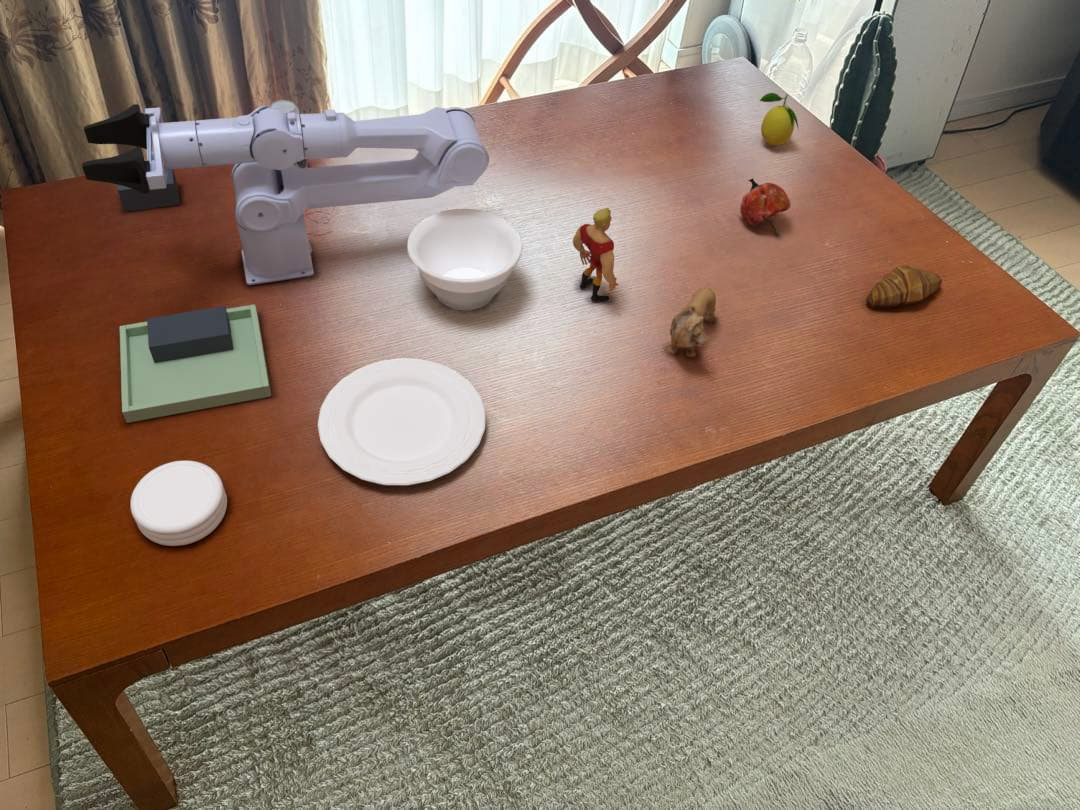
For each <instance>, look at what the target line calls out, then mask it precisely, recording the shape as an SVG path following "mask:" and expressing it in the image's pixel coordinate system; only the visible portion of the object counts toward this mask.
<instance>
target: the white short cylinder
mask: <svg viewBox="0 0 1080 810" xmlns="http://www.w3.org/2000/svg"><path fill="white" fill-rule="evenodd" d="M227 507H228V497H227V493H226V490H225V487H224V483H223V481H222V479H221V477H220V476H219V474H218V473H217V472H216V471H215V470H214V469H213V468H212V467H210V466H208V465H207V464H205V463H203V462H199V461H194V460H175V461H170V462H167V463H164V464H161V465H159V466H157V467H155V468H153V469H152V470H150V471H149V472H147V473H146V474H145V475H144V476H143V477H142V478H141V479H140V480H139V481H138V482H137V484H136V486H135V487H134V489H133V491H132V493H131V497H130V512H131V515H132V517H133V519H134V521H135V523H136V525H137V528H138V529H139V531H140V532H141V534H142V535H143V536H144V537H145V538H147V539H148V540H150V541H151V542H153V543H155V544H157V545H158V544H159V545H162V546H167V547H168V546H169V547H179V546H186V545H191V544H193V543H195V542H196V543H197V542H198V541H200V540H202V539H204V538H206V537H207V536H209V535H210V534H211V533H212V532H214V530H215V529H217V528H218V526H219V525H220V524H221V522H222V520H223V519H224V517H225V515H226V512H227Z"/></svg>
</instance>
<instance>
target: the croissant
mask: <svg viewBox="0 0 1080 810" xmlns="http://www.w3.org/2000/svg"><path fill="white" fill-rule="evenodd" d="M942 282H943V279H942V277H941V276H940V275H939V274H938V273H937V274H936V273H935V272H932V271H930V270H926V269H921V268H913V267H912V266H910V265H899V266H897V267H895V268H893V269H892V270H890V271H889V272H888V273H886V275H884V276H883V278H882V279H881V280H880V281H878V282H876V284H875V285H874V286H873V288H872V289H871V290H870V292H869V294H867V295H868V296H867V297H866V299H865V303H866V305H867V306H868V307H870V308H871V309H893V308H895V307H905V306H911V305H914V304H916V303H917V302H920V301H922V300H924V299H926V298H927V297H929V296H931V295H933V294H934V293H935V292H936V291H937V290H939V288H940V286H941V285H942Z"/></svg>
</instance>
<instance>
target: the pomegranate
mask: <svg viewBox="0 0 1080 810" xmlns="http://www.w3.org/2000/svg"><path fill="white" fill-rule="evenodd" d="M747 182H750V184H751V187H750V189H749V190H748V191H749V192H747V193H745V194H744V195H743V196H742V199H741V202H740V216H741V217H742V219H743V220H744V222H746V223H747V224H748V225H750V226H752V227H753V228H754V227H757V226H758V225H760V224H761V223H763V222H764V221H767V220H769V222H770V224H771V226H772V227H773V229H774V231H775V234H776V235H777V237H779V236H780V235H779V233H778V230H777V228H776V225H775V224H774V220H773V218H774V217H776V216H777V215H778V214H779V213H783V212H786V211H788V210H789V209H790V208H791V200H790V198H789V196H788V194H787V192H786V191H785V189H784V188H782V187H780V186H779V185H777V184H776V183H773V182H764V183H761V184H758V183H757V182H756V181H755V180H754V178H750V179H747Z"/></svg>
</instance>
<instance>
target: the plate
mask: <svg viewBox="0 0 1080 810" xmlns="http://www.w3.org/2000/svg"><path fill="white" fill-rule="evenodd" d="M318 413H319V414H318V419H317V429H318V435H319V441H320V444H321V445H322V447H323V449H324V451H325V453H326V454H327V457H328V458H329V459H330V460H331V461H333V462H334V464H336V466H338V467H339V468H340V469H341V470H342V471H343V472H345V473H347V474H349V475H351V476H352V477H353V476H354V477H355V478H357V479H359V480H360V481H363V482H364V481H365V482H368V483H372V484H375V485H380V486H387V487H409V486H415V485H419V484H426V483H430V482H432V481H435V480H437V479H439V478H442V477H444V476H446V475H449V474H451V473H452V472H454V471H455V470H457V469H458V468H459V467H460V466H462V465H463V464H464V463H466V462H467V461H468V460H469V459H470V458H471V456H472V455H473V454H474V452H476V450H477V449H478V447H479V446H480V444H481V440H482V438H483V436H484V433H485V431H486V416H487V415H486V414H487V413H486V409H485V405H484V402H483V399H482V396H481V395H480V393H479V391H478V390H477V389H476V388H475V386H474V385H473V384H472V382H471V381H469V380H468V379H467V378H466V377H465V376H463V375H462V374H461V373H460V372H459V371H457V370H455V369H453V368H450V367H449V366H446V365H444V364H442V363H439V362H437V361H433V360H427V359H422V358H413V357H412V358H411V357H410V358H409V357H397V358H390V359H384V360H379V361H374V362H372V363H369V364H366V365H364V366H361V367H359V368H357V369H356V370H354V371H352V372H351V373H349V374H347V375H346V376H344V377H343V378H341V379H340V380H339V381H338V382H337V383H336V385H334V386H333V387H332V388H331V389H330V391H328V393H327V395H326V397H325V399H324V400H323V402H322V404H321V405H320V408H319V412H318Z"/></svg>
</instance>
